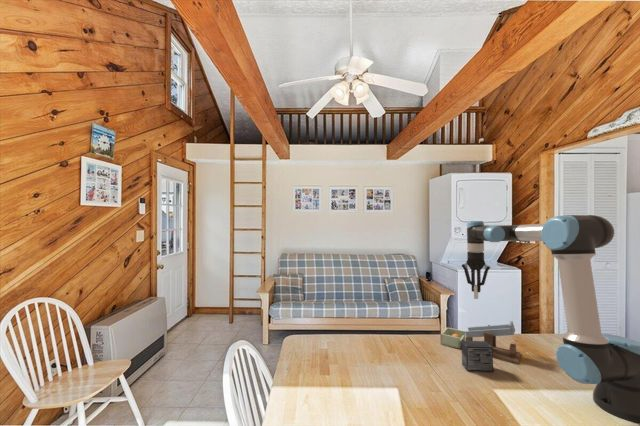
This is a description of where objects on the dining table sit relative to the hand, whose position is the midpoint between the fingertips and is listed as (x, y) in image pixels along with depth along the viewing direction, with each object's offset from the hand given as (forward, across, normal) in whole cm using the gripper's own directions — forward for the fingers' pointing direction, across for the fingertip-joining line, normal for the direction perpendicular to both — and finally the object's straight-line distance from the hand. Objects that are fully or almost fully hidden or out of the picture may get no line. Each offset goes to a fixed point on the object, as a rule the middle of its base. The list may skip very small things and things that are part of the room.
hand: (476, 298), depth 153 cm
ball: (+20, +8, +7) cm, 22 cm away
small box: (+23, -5, +27) cm, 36 cm away
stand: (+22, -7, +8) cm, 25 cm away
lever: (+14, -7, +4) cm, 16 cm away
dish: (+22, +9, +7) cm, 25 cm away
